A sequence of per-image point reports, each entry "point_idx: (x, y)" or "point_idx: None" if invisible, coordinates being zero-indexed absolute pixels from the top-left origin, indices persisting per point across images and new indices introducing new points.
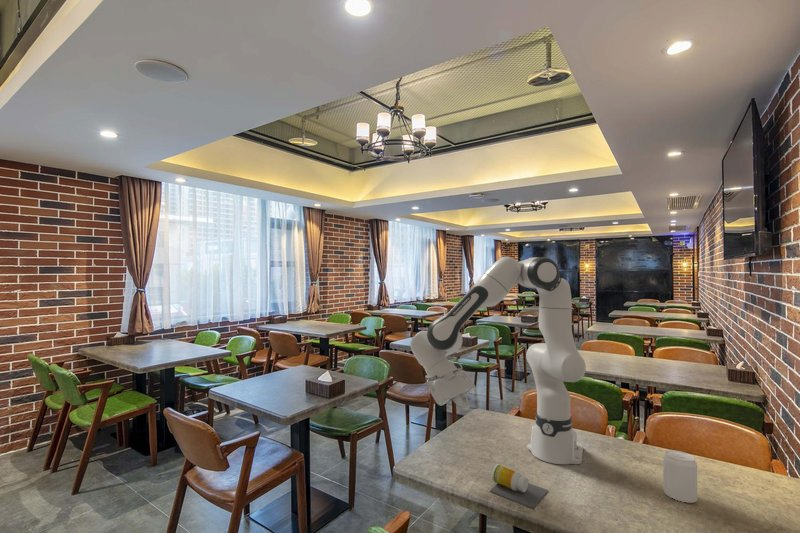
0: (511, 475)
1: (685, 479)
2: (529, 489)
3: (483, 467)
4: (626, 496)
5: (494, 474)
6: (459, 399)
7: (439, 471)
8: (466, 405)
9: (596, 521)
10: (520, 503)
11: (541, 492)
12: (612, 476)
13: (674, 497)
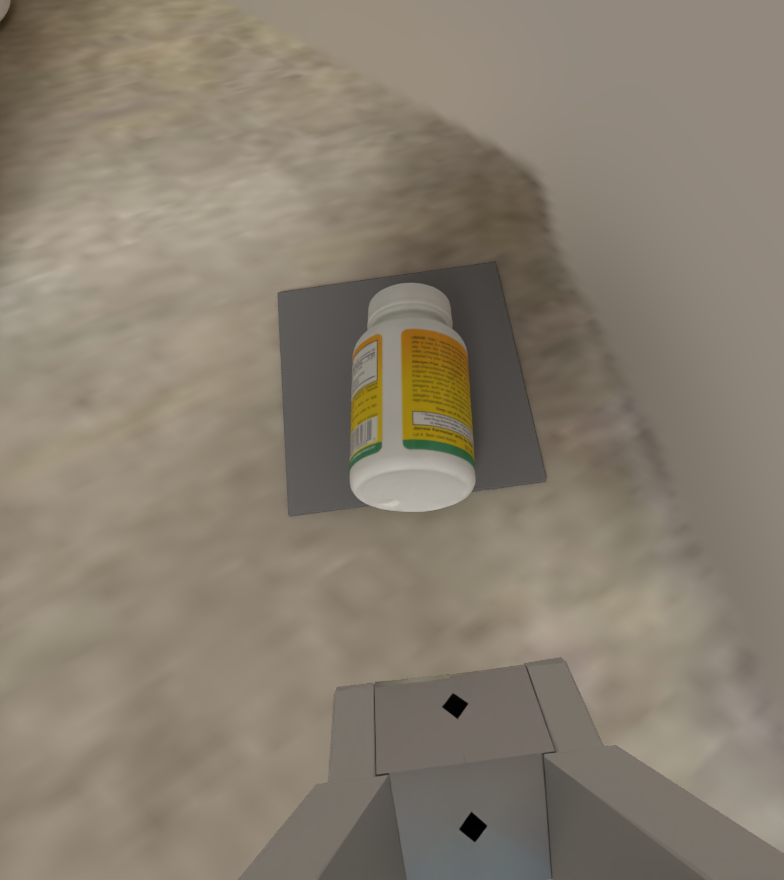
0: (447, 342)
1: None
2: (347, 348)
3: (293, 703)
4: (84, 107)
5: (473, 462)
6: (767, 867)
7: None
8: (519, 691)
9: (366, 105)
10: (507, 317)
11: (328, 300)
12: None
13: (3, 6)
